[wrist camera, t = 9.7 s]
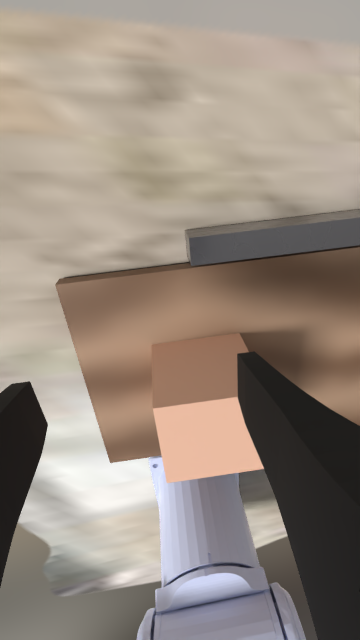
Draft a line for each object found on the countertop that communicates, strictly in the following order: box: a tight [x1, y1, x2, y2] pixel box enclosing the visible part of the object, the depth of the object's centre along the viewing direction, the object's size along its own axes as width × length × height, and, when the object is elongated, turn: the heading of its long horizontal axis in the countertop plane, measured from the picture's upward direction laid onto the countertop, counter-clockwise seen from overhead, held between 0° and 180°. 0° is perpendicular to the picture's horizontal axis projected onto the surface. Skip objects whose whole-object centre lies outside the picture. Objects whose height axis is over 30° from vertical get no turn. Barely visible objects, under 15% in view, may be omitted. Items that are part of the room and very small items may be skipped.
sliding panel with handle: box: [56, 245, 360, 463], centre depth 21 cm, size 16×24×6 cm, turn 96°
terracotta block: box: [151, 333, 264, 483], centre depth 20 cm, size 6×6×6 cm
